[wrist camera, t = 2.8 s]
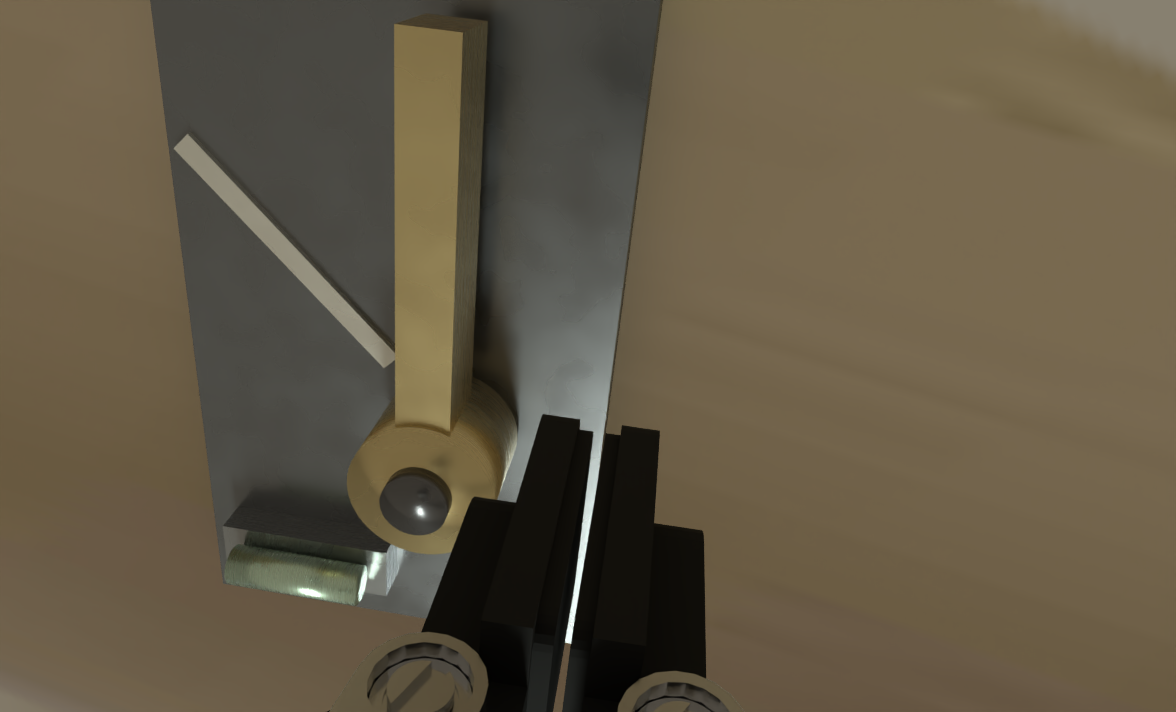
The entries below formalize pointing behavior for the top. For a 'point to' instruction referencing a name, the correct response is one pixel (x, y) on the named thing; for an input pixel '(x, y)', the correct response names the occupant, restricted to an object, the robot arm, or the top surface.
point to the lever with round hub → (435, 302)
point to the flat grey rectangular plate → (386, 254)
